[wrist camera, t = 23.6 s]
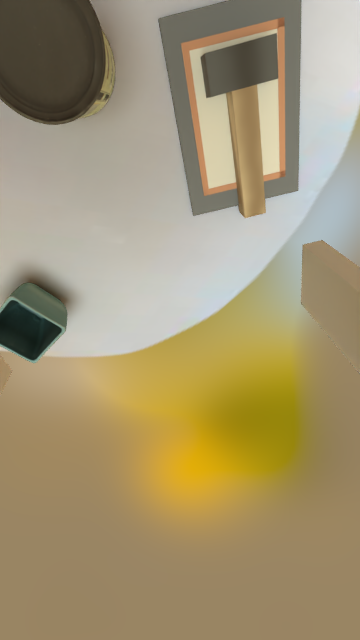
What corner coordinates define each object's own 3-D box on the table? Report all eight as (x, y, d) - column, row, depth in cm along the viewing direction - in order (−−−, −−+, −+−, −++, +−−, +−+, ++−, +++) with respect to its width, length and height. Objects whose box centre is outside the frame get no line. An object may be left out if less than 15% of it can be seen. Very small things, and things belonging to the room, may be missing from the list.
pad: (193, 214, 47) (193, 216, 47) (158, 19, 35) (158, 18, 34) (296, 189, 47) (298, 190, 46) (299, -17, 34) (302, -19, 34)
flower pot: (29, 266, 49) (9, 295, 42) (77, 298, 53) (67, 329, 46) (0, 303, 52) (-22, 335, 45) (48, 330, 56) (34, 364, 49)
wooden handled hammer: (223, 216, 47) (228, 222, 45) (200, 57, 37) (204, 53, 34) (275, 203, 47) (282, 208, 44) (267, 38, 36) (276, 33, 34)
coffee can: (1, 31, 34) (-69, -9, 22) (86, -15, 33) (58, -82, 21) (56, 133, 40) (23, 144, 28) (130, 97, 38) (127, 94, 27)
